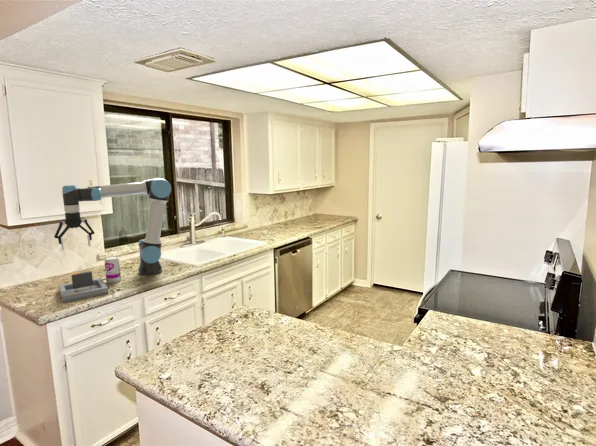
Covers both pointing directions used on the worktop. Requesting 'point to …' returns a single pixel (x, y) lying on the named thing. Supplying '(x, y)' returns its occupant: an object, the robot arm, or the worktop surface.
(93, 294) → the dial panel
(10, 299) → the worktop surface
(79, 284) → the dial
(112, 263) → the supplement can
